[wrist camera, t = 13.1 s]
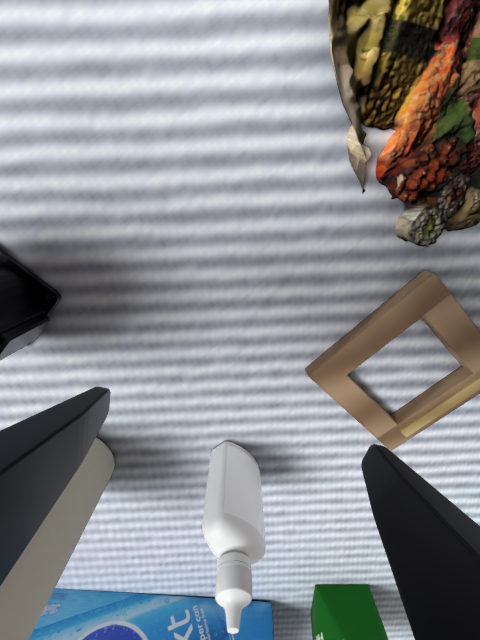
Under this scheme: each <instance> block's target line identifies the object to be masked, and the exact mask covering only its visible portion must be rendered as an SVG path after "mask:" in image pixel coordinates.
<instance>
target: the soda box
mask: <svg viewBox="0 0 480 640" xmlns="http://www.w3.org/2000/svg"><path fill="white" fill-rule="evenodd" d="M29 640H274V630H273V614H272V604H271V602H259V601H251V602H250V603H249V604H248V605H247V606H246V607H244V608H243V609H242V612H241V618H240V626H239V632H238V633H235V634H231V633H228V632H227V623H226V613H225V609H224V607H222V606H220V605H219V604H218V603H217V602H216V600H215V598H199V597H183V596H169V595H154V594H138V593H124V592H105V591H91V590H74V589H54V590H53V592H52V594H51V596H50V598H49V600H48V602H47V604H46V606H45V608H44V610H43V612H42V614H41V616H40V618H39V620H38V622H37V624H36V626H35V628H34V630H33V632H32V634H31V636H30V638H29Z"/></svg>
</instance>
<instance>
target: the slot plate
mask: <svg viewBox="0 0 480 640" xmlns="http://www.w3.org/2000/svg"><path fill="white" fill-rule="evenodd" d="M420 318H422V319H423V320H424V322H425V323H426V324H427V325H428V326H429V327H430V329H431V330H432V331H433V332H434V333H435V335H436V336H437V337H438V338H439V339H440V340H441V342H442V343H443V344H444V345H445V346H446V348H447V349H448V350H449V351H450V352H451V353H452V355H453V356H454V357H455V358H456V359H457V361H458V362H459V363H460V364H461V365H462V366H461V367H460V368H458V369H457V370H455V371H454V372H452V373H451V374H449V375H448V376H447V377H445V378H444V379H442V380H441V381H439V382H438V383H436V384H435V385H434V386H432V387H431V388H429V389H428V390H426V391H425V392H423V393H422V394H421V395H419V396H418V397H416V398H415V399H413V400H412V401H410V402H409V403H408V404H406V405H405V406H403V407H402V408H400V409H399V410H397V411H396V412H395V413H393V414H392V415H389V414H388V413H387V412H386V411H385V410H384V409H383V408H382V407H381V406H380V405H379V404H378V403H377V402H376V401H375V400H374V399H373V398H372V397H371V396H370V395H369V394H368V393H367V392H365V391H364V390H363V389H362V388H361V387H360V386H359V385H358V384H357V383H356V382H355V381H354V380H353V379H352V378H351V377H350V376H349V375H348V374H349V373H350V372H352V371H353V370H354V369H355V368H357V367H358V366H359V365H361V364H362V363H363V362H364V361H366V360H367V359H368V358H370V357H371V356H372V355H373V354H375V353H376V352H377V351H379V350H380V349H381V348H382V347H384V346H385V345H386V344H388V343H389V342H390V341H391V340H393V339H394V338H395V337H397V336H398V335H399V334H400V333H402V332H403V331H404V330H406V329H407V328H408V327H409V326H411V325H412V324H413V323H415V322H416V321H417V320H418V319H420ZM305 370H306V372H307V374H308V376H309V377H310V378H311V379H312V380H313V381H314V382H315V383H316V384H318V385H319V386H320V387H321V388H322V389H323V390H324V391H325V392H326V393H327V394H329V395H330V396H331V397H332V398H333V399H334V400H335V401H336V402H337V403H338V404H340V405H341V406H342V407H343V408H344V409H345V410H346V411H347V412H348V413H349V414H351V415H352V416H353V417H354V418H355V419H356V420H357V421H358V422H359V423H361V424H362V425H363V426H364V427H365V428H366V429H367V430H368V431H369V432H370V433H372V434H373V435H374V436H375V437H376V438H377V439H378V440H379V441H380V442H381V443H383V444H384V445H385V446H386V447H387V448H388V449H389V450H390V451H392V450H393V449H395V448H396V447H398V446H400V445H401V444H403V443H404V442H406V441H407V440H409V439H410V438H412V437H413V436H415V435H416V434H418V433H420V432H421V431H423V430H424V429H426V428H427V427H429V426H430V425H432V424H433V423H435V422H437V421H438V420H440V419H441V418H443V417H444V416H446V415H447V414H449V413H450V412H452V411H453V410H455V409H457V408H458V407H460V406H461V405H463V404H464V403H466V402H467V401H469V400H470V399H472V398H473V397H475V396H477V395H478V394H480V331H479V330H478V328H477V327H476V326H475V325H474V323H473V322H472V321H471V319H470V318H469V317H468V316H467V314H466V313H465V312H464V310H463V309H462V308H461V307H460V305H459V304H458V303H457V301H456V300H455V299H454V297H453V296H452V295H451V294H450V292H449V291H448V290H447V288H446V287H445V286H444V285H443V283H442V282H441V281H440V279H439V278H438V277H437V276H436V274H435V273H432V272H428V271H424V270H423V271H422V272H421V273H420V274H419V275H417V276H416V277H415V278H414V279H413V280H411V281H410V282H409V283H408V284H407V285H405V286H404V287H403V288H402V289H401V290H399V291H398V292H397V293H396V294H394V295H393V296H392V297H391V298H390V299H388V300H387V301H386V302H385V303H384V304H382V305H381V306H380V307H379V308H378V309H376V310H375V311H374V312H373V313H372V314H370V315H369V316H368V317H367V318H366V319H364V320H363V321H362V322H361V323H359V324H358V325H357V326H356V327H355V328H353V329H352V330H351V331H350V332H349V333H347V334H346V335H345V336H344V337H343V338H341V339H340V340H339V341H338V342H337V343H335V344H334V345H333V346H332V347H330V348H329V349H328V350H327V351H326V352H324V353H323V354H322V355H321V356H320V357H318V358H317V359H316V360H315V361H314V362H312V363H311V364H310V365H309V366H308V367H306V368H305Z"/></svg>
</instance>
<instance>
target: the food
mask: <svg viewBox="0 0 480 640" xmlns="http://www.w3.org/2000/svg"><path fill="white" fill-rule="evenodd" d="M329 36H330V53H331V58H332V62H333V67H334V71H335V76H336V80H337V84H338V88H339V92H340V96H341V99H342V103H343V106H344V108H345V110H346V112H347V114H348V116H349V118H350V120H351V122H352V125H351V127H350V130H349V134H348V138H347V148H348V152H349V160H350V163H351V165H352V167H353V170H354V171H355V173H356V175H357V177H358V179H359V180H360V183H361V186H362V188H363V184H364V177H365V170H366V163H367V161H368V160H369V158H370V157H371V156H372V153H371V151H370V149H369V148H368V147H367V146H366V145H364V144H363V142H364V138H365V137H366V133H365V132H364V131H363V130H362V128H361V126H360V123H363V124H365V125H366V126H369V127H376V128H379V129H381V130H386V129H389V128H391V129H393V130H396V132H395V133H394V134H393V136H392V137H391V138H390V140H389V141H388V143H387V145H386V146H385V149H384V151H383V152H382V153H381V154H380V155H379V157H378V160H377V167H376V178H377V180H378V181H379V183H380V184H382V185H385V186H386V187H387V188H388V190H389V192H390V194H391V195H392V198H391V199H395V198H399V199H400V200H401V201H403V202H404V204H405V209H404V212H403V213H402V214H401V215H400V216H399V217H398V219H397V223H396V226H395V229H394V231H395V233H396V235H397V236H398V237H399V238H401V239H403V240H404V241H410V242H413V243H414V244H416V245H418V246H426V247H428V246H429V245H431V244H434V243H436V239H437V238H438V237H439V235H440V234H441V232H442V230H444V228H445V229H446V230H447V231H452V230H461V229H464V228H469V227H471V226H474V225H476V224H478V223H479V222H480V0H329ZM434 41H435V45H434ZM364 192H365V190H364V189H363V193H364ZM363 193H362V194H363Z"/></svg>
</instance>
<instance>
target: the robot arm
mask: <svg viewBox="0 0 480 640" xmlns="http://www.w3.org/2000/svg"><path fill="white" fill-rule="evenodd" d="M51 295H53V296H54V299H53V298H52V297H51ZM60 299H61V296H60V294H59V293H58V292H57V291H56V290H55V289H53V288H52V287H51V286H50V285H48V284H47V283H46V282H44V281H43V280H42V279H40V278H39V277H38V276H36V275H35V274H34V273H32V272H31V271H30V270H28V269H27V268H26V267H24V266H23V265H22V264H20V263H19V262H18V261H16V260H15V259H14V258H12V257H11V256H10V255H8V254H7V253H6V252H4V251H3V250H2V249H1V248H0V360H2V359H4V358H5V357H7V356H9V355H10V354H12V353H14V352H16V351H17V350H19V349H22V348H24V347H25V346H26V345H28V344H29V343H31V342H33V341H35V340H36V338H37V337H38V336H39V334H40V333H41V332H42V330H43V329H44V328H45V326H46V325H47V324H48V322H49V321H50V317H49V314H50V313H51V312H52V310H53V309H54V308H55V306H56V305H57V304H58V302H59V301H60ZM109 404H110V390H109V389H107V388H103V387H94V388H92V389H90V390H88V391H86V392H84V393H81V394H79V395H77V396H75V397H73V398H71V399H68V400H66V401H64V402H62V403H60V404H57V405H55V406H53V407H51V408H49V409H47V410H44V411H42V412H40V413H38V414H36V415H34V416H31V417H29V418H27V419H25V420H23V421H21V422H18V423H16V424H14V425H12V426H10V427H8V428H5V429H3V430H1V431H0V586H1V585H2V583H3V582H4V580H5V579H6V577H7V576H8V574H9V573H10V571H11V570H12V568H13V567H14V565H15V564H16V562H17V561H18V559H19V558H20V556H21V555H22V553H23V552H24V550H25V549H26V547H27V546H28V544H29V543H30V541H31V539H32V538H33V536H34V535H35V533H36V532H37V530H38V529H39V527H40V526H41V524H42V523H43V521H44V520H45V518H46V517H47V515H48V514H49V512H50V511H51V509H52V508H53V506H54V505H55V503H56V502H57V500H58V499H59V497H60V496H61V494H62V493H63V491H64V490H65V488H66V487H67V485H68V484H69V482H70V481H71V479H72V478H73V476H74V475H75V473H76V472H77V470H78V469H79V467H80V465H81V464H82V462H83V460H84V459H85V457H86V455H87V453H88V451H89V449H90V447H91V446H92V444H93V442H94V440H95V438H96V436H97V434H98V432H99V430H100V428H101V427H102V425H103V423H104V421H105V419H106V417H107V415H108V412H109ZM362 471H363V475H364V479H365V484H366V488H367V492H368V496H369V500H370V504H371V508H372V512H373V515H374V519H375V522H376V525H377V528H378V531H379V534H380V537H381V540H382V543H383V546H384V549H385V552H386V555H387V558H388V561H389V564H390V567H391V570H392V573H393V576H394V579H395V582H396V585H397V587H398V590H399V593H400V596H401V599H402V602H403V605H404V608H405V611H406V614H407V617H408V620H409V623H410V626H411V629H412V632H413V635H414V638H415V640H480V526H479V525H478V524H477V523H475V522H474V521H473V520H472V519H471V518H469V517H468V516H467V515H466V514H465V513H463V512H462V511H461V510H460V509H459V508H458V507H456V506H455V505H454V504H453V503H452V502H450V501H449V500H448V499H447V498H446V497H444V496H443V495H442V494H441V493H440V492H439V491H437V490H436V489H435V488H434V487H433V486H431V485H430V484H429V483H428V482H427V481H425V480H424V479H423V478H422V477H421V476H419V475H418V474H417V473H416V472H415V471H414V470H412V469H411V468H410V467H409V466H408V465H406V464H405V463H404V462H403V461H402V460H400V459H399V458H398V457H397V456H396V455H395V454H393V453H392V452H391V451H390V450H389V449H387V448H386V447H384V446H381V445H376V444H373V445H371V446H370V447H369V449H368V451H367V453H366V455H365V456H364V458H363V460H362Z"/></svg>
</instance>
